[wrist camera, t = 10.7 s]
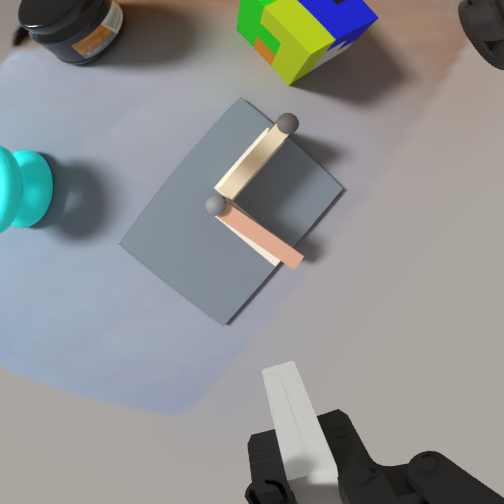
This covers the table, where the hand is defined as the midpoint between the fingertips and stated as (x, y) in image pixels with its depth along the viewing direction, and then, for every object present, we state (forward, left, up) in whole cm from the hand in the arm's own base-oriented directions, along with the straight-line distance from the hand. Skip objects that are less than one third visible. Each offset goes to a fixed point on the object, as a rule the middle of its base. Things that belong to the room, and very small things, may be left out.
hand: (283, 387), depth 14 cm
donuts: (+25, -17, -25) cm, 39 cm away
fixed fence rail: (-4, -12, -23) cm, 27 cm away
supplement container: (+12, -35, -25) cm, 45 cm away
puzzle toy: (-13, -26, -25) cm, 38 cm away
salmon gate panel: (-2, -5, -23) cm, 24 cm away
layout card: (0, -6, -24) cm, 25 cm away
